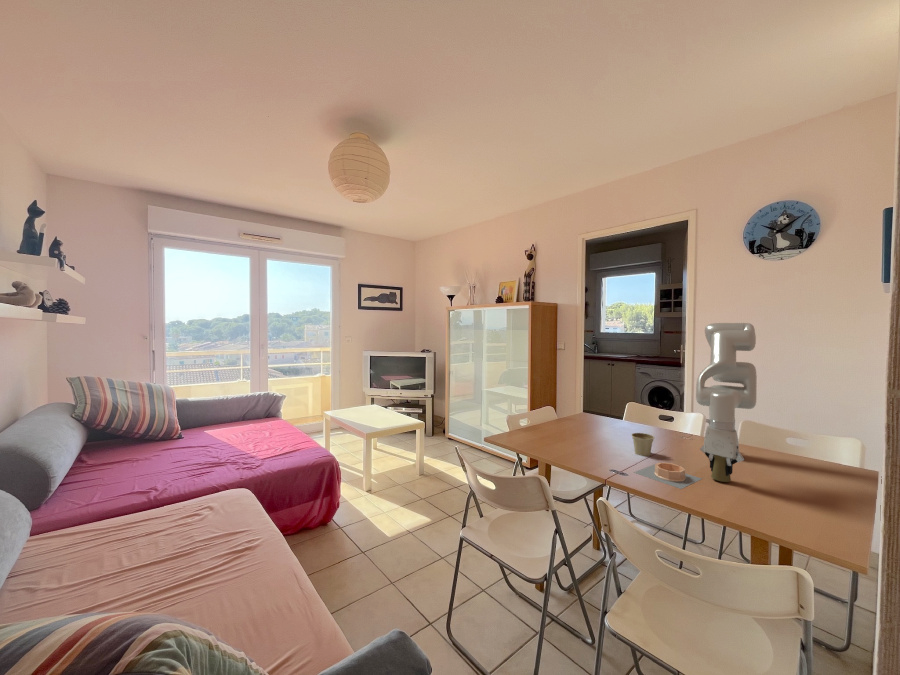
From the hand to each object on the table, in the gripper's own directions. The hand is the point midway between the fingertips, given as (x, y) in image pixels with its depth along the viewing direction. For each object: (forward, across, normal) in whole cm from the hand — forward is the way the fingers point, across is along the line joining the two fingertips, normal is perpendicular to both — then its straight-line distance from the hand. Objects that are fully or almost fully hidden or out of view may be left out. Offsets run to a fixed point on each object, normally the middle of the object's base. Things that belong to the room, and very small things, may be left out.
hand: (720, 472), depth 141 cm
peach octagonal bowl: (+3, -13, -12) cm, 18 cm away
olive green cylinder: (+3, 0, 0) cm, 3 cm away
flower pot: (+4, -33, +4) cm, 33 cm away
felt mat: (+3, -14, -12) cm, 18 cm away
